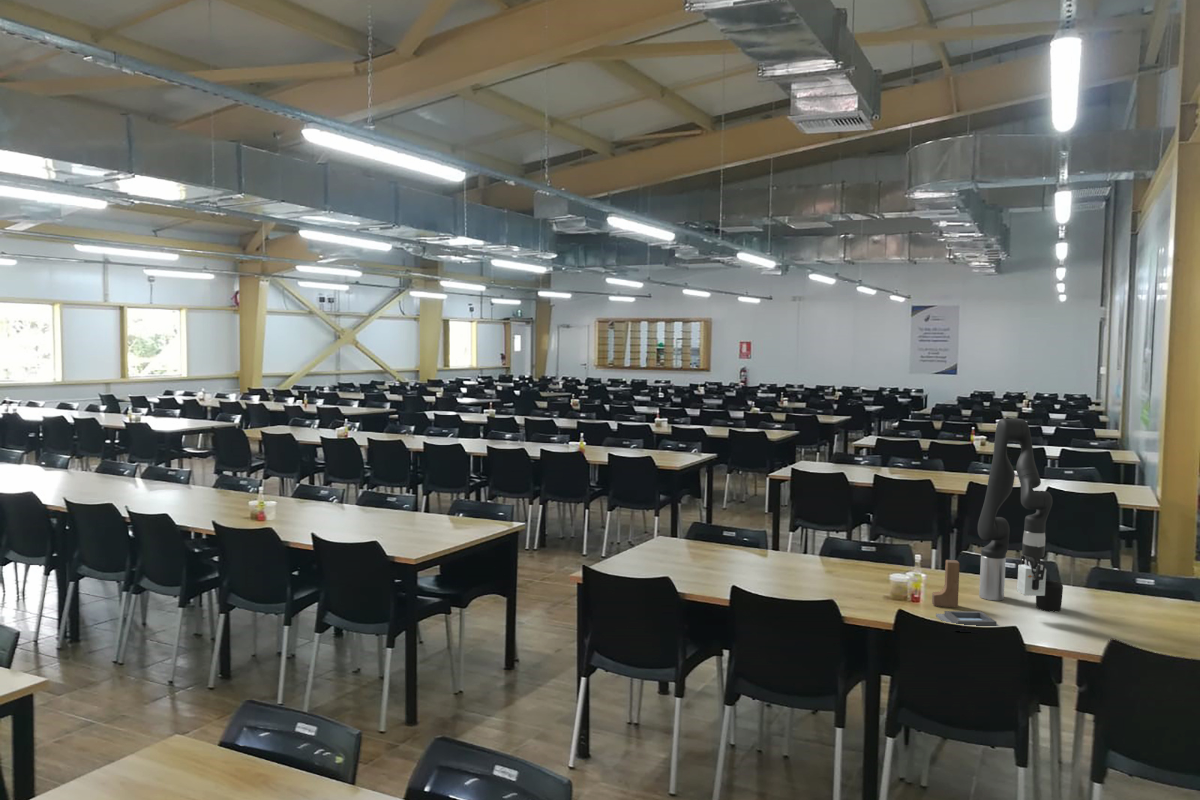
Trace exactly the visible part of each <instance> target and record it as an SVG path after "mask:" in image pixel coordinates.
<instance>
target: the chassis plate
mask: <svg viewBox="0 0 1200 800" xmlns="http://www.w3.org/2000/svg"><path fill="white" fill-rule="evenodd" d="M935 617H936V618H937V619H939V620H940V621H941V620H942V621H946V622H951V623H956V624H964V625H976V626H1000V625H999V624H998V623H997V620H995V619H993V618H992V617H991V616H989V615H988V614H986V613H984V612H983V611H975V610H974V611H968V610H967V611H965V610H964V611H963V610H962V611H961V610H944V613H935ZM942 621H941V622H942Z"/></svg>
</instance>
